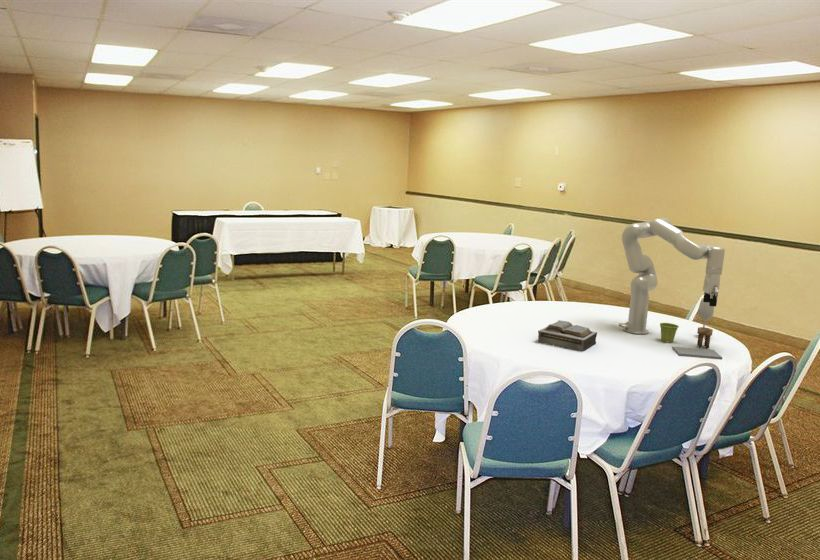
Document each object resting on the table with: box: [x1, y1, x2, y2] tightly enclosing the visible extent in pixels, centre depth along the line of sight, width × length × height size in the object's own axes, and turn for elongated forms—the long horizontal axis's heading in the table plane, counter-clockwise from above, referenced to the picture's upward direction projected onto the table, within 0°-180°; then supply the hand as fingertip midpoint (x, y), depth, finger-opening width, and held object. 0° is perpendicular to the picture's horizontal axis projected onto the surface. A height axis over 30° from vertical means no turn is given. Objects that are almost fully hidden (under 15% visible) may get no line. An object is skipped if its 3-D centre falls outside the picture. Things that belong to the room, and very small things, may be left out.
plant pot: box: [659, 322, 680, 343], centre depth 345 cm, size 9×9×9 cm
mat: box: [671, 345, 723, 360], centre depth 324 cm, size 20×13×1 cm, turn 82°
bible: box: [537, 320, 598, 352], centre depth 331 cm, size 23×27×10 cm
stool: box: [696, 326, 714, 349], centre depth 336 cm, size 7×7×10 cm
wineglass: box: [695, 297, 715, 340], centre depth 355 cm, size 8×8×21 cm
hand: (709, 304), depth 333 cm, fingers open, 9 cm apart
